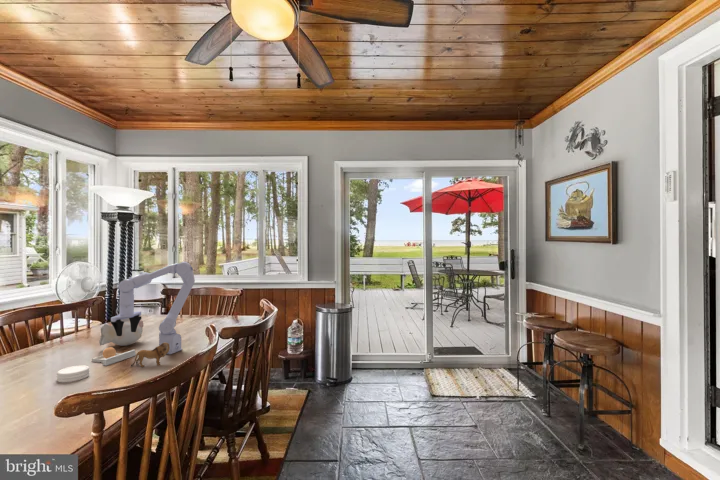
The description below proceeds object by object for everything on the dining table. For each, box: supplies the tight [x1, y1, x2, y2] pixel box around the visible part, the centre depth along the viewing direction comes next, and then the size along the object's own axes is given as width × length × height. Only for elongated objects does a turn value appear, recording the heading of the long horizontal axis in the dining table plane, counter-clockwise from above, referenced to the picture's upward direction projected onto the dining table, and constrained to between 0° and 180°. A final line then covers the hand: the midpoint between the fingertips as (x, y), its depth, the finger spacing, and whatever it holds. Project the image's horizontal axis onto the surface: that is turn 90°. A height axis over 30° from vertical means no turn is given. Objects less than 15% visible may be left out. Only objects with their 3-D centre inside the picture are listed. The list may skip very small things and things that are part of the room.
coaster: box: [56, 365, 90, 383], centre depth 141 cm, size 10×10×4 cm
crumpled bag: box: [98, 318, 144, 347], centre depth 186 cm, size 16×19×15 cm
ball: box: [102, 346, 117, 359], centre depth 163 cm, size 5×5×5 cm
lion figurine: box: [130, 342, 170, 368], centre depth 156 cm, size 15×5×9 cm, turn 118°
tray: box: [91, 352, 120, 364], centre depth 163 cm, size 9×9×1 cm
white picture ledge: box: [102, 349, 137, 367], centre depth 162 cm, size 2×15×2 cm, turn 165°
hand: (126, 333), depth 169 cm, fingers open, 7 cm apart
